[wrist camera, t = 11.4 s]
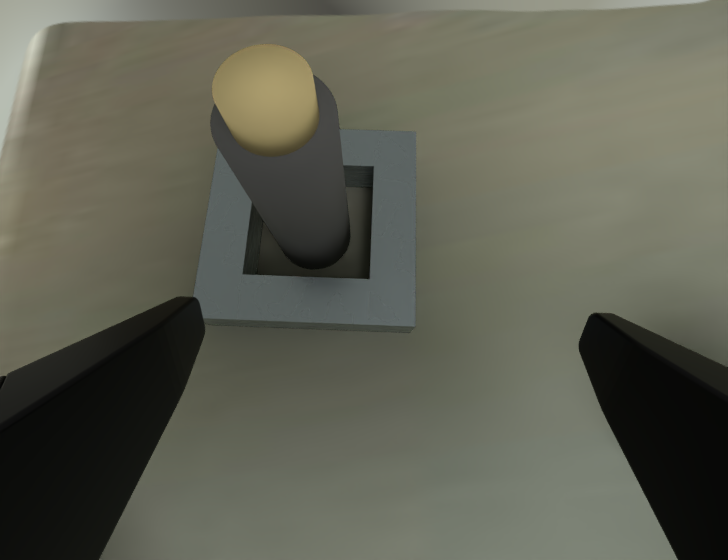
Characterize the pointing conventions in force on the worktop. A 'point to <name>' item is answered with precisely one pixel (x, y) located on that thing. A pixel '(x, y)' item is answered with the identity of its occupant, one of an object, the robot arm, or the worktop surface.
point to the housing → (317, 294)
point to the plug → (284, 150)
